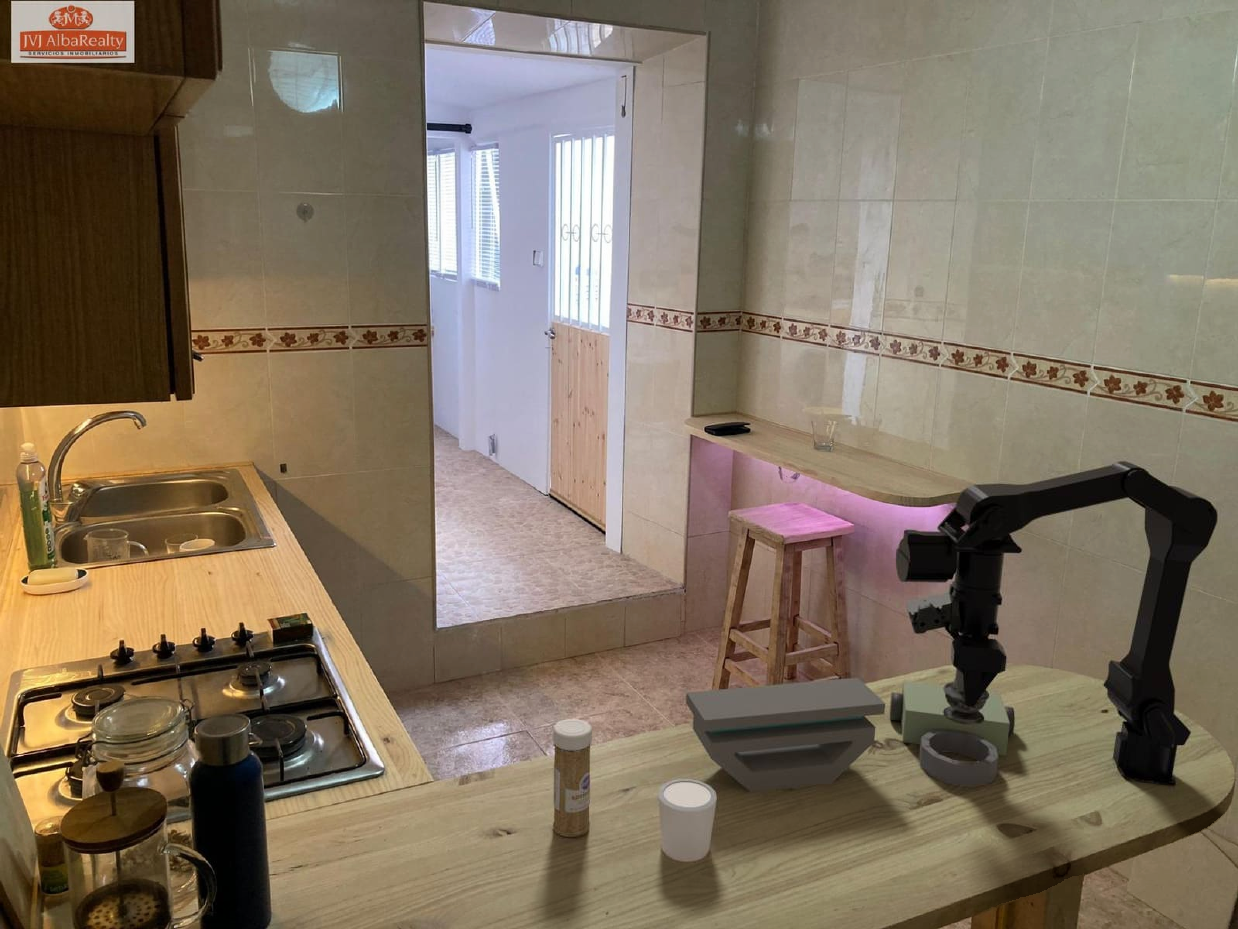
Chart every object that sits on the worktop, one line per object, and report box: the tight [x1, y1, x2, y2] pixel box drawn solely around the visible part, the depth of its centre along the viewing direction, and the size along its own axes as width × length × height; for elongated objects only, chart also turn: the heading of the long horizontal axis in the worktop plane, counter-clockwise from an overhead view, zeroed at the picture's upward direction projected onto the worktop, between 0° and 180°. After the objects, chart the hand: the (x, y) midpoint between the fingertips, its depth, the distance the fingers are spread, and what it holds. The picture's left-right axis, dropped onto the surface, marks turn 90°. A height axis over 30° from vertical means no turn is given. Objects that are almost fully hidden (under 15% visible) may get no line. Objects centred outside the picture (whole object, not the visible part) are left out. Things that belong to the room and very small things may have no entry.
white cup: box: [657, 778, 718, 863], centre depth 113 cm, size 7×7×7 cm
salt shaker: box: [943, 668, 989, 725], centre depth 130 cm, size 6×6×12 cm
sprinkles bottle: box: [552, 718, 593, 838], centre depth 115 cm, size 5×5×14 cm
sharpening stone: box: [685, 677, 886, 793], centre depth 129 cm, size 25×8×11 cm, turn 103°
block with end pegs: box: [889, 680, 1016, 788], centre depth 137 cm, size 17×20×5 cm
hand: (966, 691), depth 130 cm, fingers closed on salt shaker, 8 cm apart
